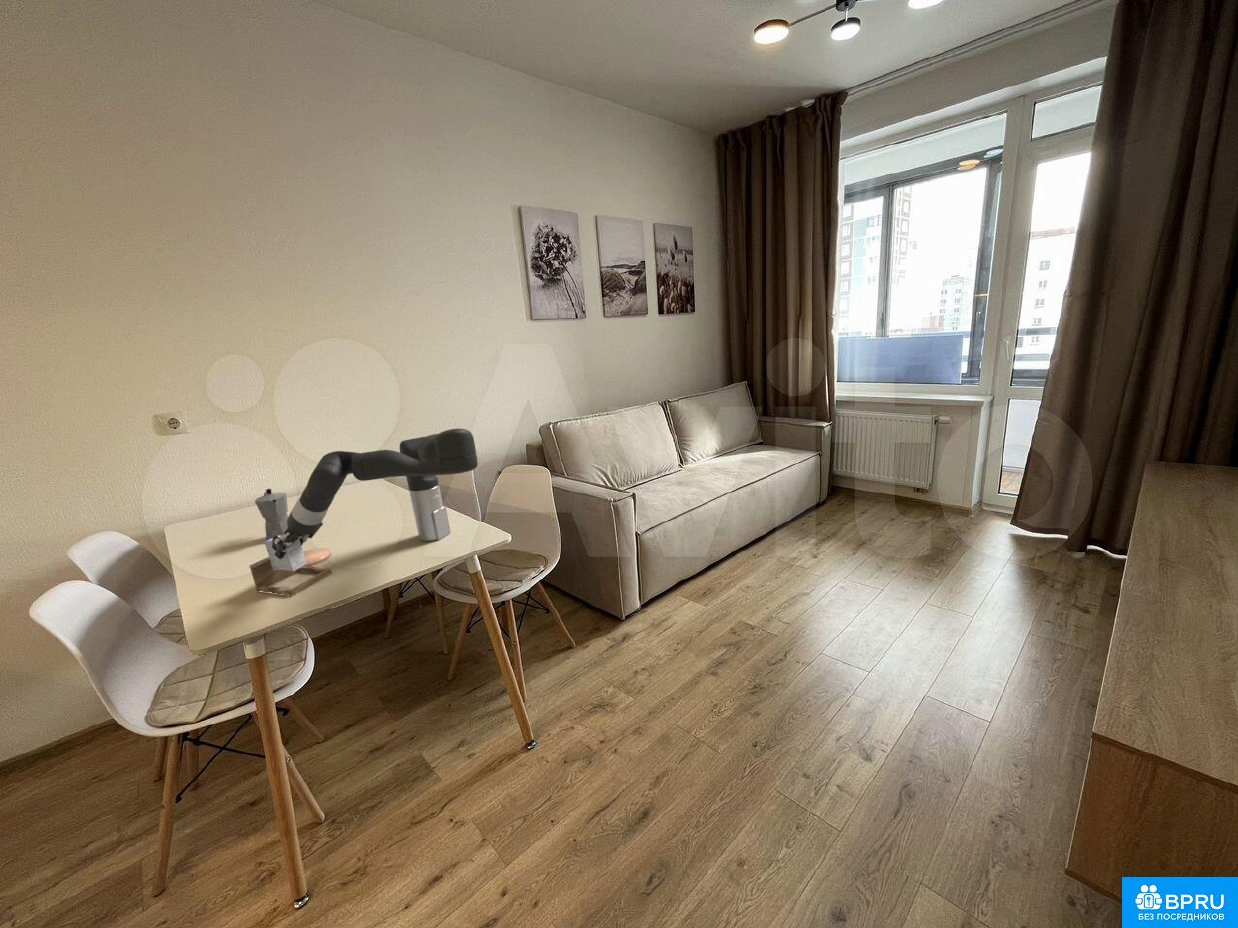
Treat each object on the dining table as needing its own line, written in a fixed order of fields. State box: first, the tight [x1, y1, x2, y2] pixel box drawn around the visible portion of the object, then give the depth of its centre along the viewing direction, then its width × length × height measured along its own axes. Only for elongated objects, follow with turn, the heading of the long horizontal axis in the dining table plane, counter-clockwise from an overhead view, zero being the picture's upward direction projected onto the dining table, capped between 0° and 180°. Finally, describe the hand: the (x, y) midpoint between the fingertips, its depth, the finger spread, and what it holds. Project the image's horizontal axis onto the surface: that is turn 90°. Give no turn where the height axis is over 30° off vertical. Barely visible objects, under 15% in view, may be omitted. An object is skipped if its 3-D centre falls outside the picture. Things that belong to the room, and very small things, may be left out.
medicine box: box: [264, 536, 307, 571], centre depth 140 cm, size 8×4×9 cm, turn 72°
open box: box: [248, 556, 333, 597], centre depth 143 cm, size 13×13×8 cm
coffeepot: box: [254, 488, 289, 541], centre depth 179 cm, size 15×9×18 cm, turn 44°
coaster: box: [303, 547, 332, 567], centre depth 159 cm, size 12×12×1 cm
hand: (287, 552), depth 140 cm, fingers closed on medicine box, 4 cm apart
